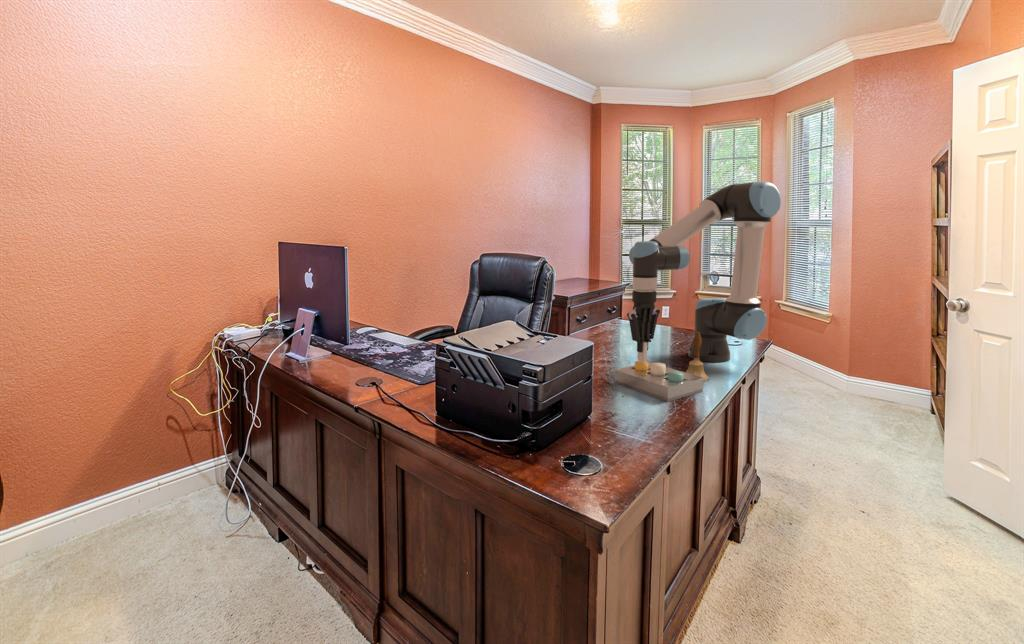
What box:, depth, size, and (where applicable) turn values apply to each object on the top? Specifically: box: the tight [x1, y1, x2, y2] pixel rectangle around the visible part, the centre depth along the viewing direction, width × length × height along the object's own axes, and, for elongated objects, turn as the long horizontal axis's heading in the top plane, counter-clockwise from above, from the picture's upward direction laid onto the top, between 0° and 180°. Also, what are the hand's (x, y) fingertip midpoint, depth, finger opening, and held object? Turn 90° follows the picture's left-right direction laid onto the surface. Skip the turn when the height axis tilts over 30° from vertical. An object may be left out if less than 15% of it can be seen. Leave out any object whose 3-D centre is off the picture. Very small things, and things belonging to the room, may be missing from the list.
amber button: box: [633, 360, 649, 372], centre depth 168 cm, size 5×5×4 cm
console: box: [614, 361, 704, 403], centre depth 162 cm, size 16×22×4 cm
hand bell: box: [685, 332, 709, 382], centre depth 170 cm, size 8×8×16 cm
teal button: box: [668, 370, 684, 383], centre depth 156 cm, size 5×5×4 cm
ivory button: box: [650, 362, 667, 377], centre depth 162 cm, size 5×5×4 cm
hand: (642, 361), depth 167 cm, fingers closed
